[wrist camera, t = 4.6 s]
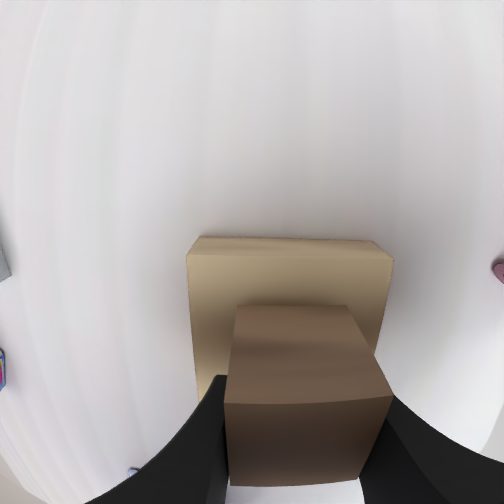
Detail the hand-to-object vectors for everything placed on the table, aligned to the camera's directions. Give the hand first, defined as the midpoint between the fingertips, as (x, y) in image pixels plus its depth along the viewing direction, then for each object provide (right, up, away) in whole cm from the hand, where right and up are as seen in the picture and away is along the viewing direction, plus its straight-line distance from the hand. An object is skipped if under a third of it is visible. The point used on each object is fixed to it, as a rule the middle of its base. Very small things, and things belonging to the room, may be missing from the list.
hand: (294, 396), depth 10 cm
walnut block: (0, +1, +2) cm, 2 cm away
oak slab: (0, +2, +6) cm, 6 cm away
